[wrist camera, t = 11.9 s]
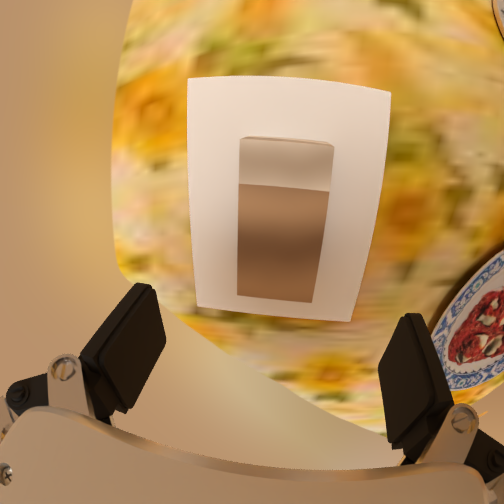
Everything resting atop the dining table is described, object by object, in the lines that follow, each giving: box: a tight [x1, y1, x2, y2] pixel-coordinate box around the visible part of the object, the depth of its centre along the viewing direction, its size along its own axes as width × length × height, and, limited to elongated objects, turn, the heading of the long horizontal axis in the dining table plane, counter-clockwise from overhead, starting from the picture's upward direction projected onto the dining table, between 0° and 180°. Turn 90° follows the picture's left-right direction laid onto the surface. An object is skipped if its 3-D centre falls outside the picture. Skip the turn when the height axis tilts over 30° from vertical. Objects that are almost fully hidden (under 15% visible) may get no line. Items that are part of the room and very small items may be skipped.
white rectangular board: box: [187, 76, 391, 322], centre depth 23 cm, size 16×22×1 cm
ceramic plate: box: [431, 249, 504, 391], centre depth 24 cm, size 26×26×3 cm
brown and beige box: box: [237, 135, 334, 303], centre depth 21 cm, size 12×6×4 cm, turn 178°
